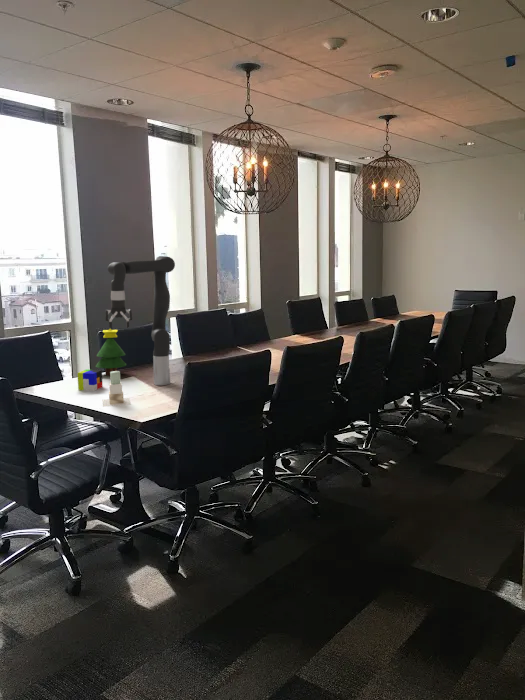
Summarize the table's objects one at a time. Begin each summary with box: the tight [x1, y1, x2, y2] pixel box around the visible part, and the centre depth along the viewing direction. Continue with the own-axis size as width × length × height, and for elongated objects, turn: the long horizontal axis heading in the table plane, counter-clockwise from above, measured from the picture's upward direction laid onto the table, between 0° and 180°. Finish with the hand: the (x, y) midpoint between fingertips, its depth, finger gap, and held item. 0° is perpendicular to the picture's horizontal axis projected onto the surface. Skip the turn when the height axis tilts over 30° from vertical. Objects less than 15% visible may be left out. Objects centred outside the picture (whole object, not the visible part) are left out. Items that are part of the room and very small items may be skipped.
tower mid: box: [109, 381, 123, 394], centre depth 309 cm, size 6×6×5 cm
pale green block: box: [109, 370, 122, 384], centre depth 308 cm, size 5×5×6 cm
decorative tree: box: [95, 328, 127, 377], centre depth 377 cm, size 19×19×30 cm
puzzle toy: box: [77, 369, 104, 392], centre depth 342 cm, size 10×10×10 cm
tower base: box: [108, 390, 124, 404], centre depth 310 cm, size 7×7×5 cm
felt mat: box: [102, 397, 132, 407], centre depth 310 cm, size 14×14×1 cm
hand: (119, 328), depth 328 cm, fingers open, 8 cm apart
